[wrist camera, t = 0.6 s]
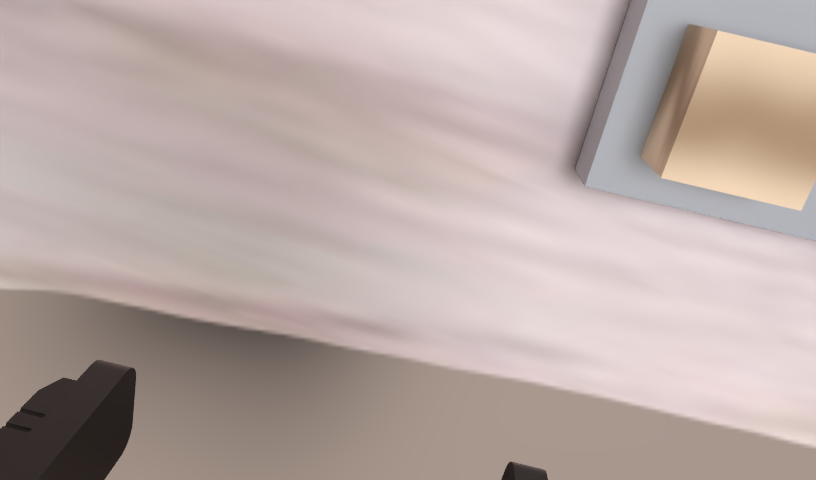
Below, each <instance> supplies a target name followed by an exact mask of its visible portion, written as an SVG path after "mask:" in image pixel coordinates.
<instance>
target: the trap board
mask: <svg viewBox="0 0 816 480" xmlns="http://www.w3.org/2000/svg"><path fill="white" fill-rule="evenodd" d="M689 24H692V25H697V26H701V27H705V28H710V29H714V30H718V31H723V32H727V33H731V34H735V35H739V36H744V37H748V38H752V39H756V40H761V41H765V42H769V43H773V44H777V45H782V46H786V47H790V48H794V49H798V50H803V51H807V52H811V53H815V54H816V0H631V1H630V4H629V7H628V10H627V13H626V16H625V19H624V22H623V25H622V28H621V31H620V34H619V38H618V41H617V44H616V47H615V50H614V53H613V56H612V59H611V62H610V65H609V68H608V71H607V74H606V77H605V80H604V83H603V86H602V89H601V92H600V95H599V98H598V101H597V104H596V107H595V110H594V113H593V116H592V119H591V122H590V125H589V128H588V131H587V134H586V137H585V140H584V143H583V146H582V149H581V152H580V156H579V159H578V162H577V165H576V168H575V170H576V172H577V173H578V175H579V177H580V179H581V181H582V182H583V184H584V186H585V187H589V188H594V189H598V190H602V191H606V192H611V193H615V194H619V195H623V196H628V197H632V198H636V199H640V200H645V201H649V202H653V203H657V204H662V205H666V206H670V207H674V208H679V209H683V210H687V211H691V212H696V213H700V214H704V215H708V216H713V217H717V218H721V219H725V220H730V221H734V222H738V223H742V224H747V225H751V226H755V227H760V228H764V229H768V230H772V231H777V232H781V233H785V234H789V235H794V236H798V237H802V238H806V239H811V240H815V241H816V181H815V183H814V185H813V187H812V189H811V191H810V194H809V196H808V198H807V200H806V202H805V204H804V206H803V208H802V210H801V211H799V210H795V209H791V208H786V207H782V206H778V205H774V204H769V203H765V202H761V201H757V200H752V199H748V198H744V197H740V196H735V195H731V194H727V193H723V192H718V191H714V190H710V189H706V188H701V187H697V186H693V185H689V184H684V183H680V182H676V181H672V180H667V179H663V178H660V176H659V175H658V174H657V173H656V172H655V171H654V170H653V169H652V168H651V167H650V166H649V165H648V164H647V163H646V162H645V161H644V160H643V159H642V158H641V153H642V150H643V147H644V145H645V142H646V139H647V137H648V134H649V131H650V128H651V126H652V123H653V120H654V118H655V115H656V112H657V109H658V107H659V104H660V101H661V98H662V96H663V93H664V90H665V88H666V85H667V82H668V79H669V77H670V74H671V71H672V69H673V66H674V63H675V60H676V58H677V55H678V52H679V50H680V47H681V44H682V41H683V39H684V36H685V33H686V31H687V28H688V25H689Z"/></svg>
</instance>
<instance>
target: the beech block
mask: <svg viewBox="0 0 816 480" xmlns="http://www.w3.org/2000/svg"><path fill="white" fill-rule="evenodd" d="M641 158H642V159H643V160H644V161H645V162H646V163H647V164H648V165H649V166H650V167H651V168H652V169H653V170H654V171H655V172H656V173H657V174H658V175H659V176H660V178H663V179H667V180H672V181H676V182H680V183H684V184H689V185H693V186H697V187H701V188H706V189H710V190H714V191H718V192H723V193H727V194H731V195H735V196H740V197H744V198H748V199H752V200H757V201H761V202H765V203H769V204H774V205H778V206H782V207H786V208H791V209H795V210H799V211H801V210H802V208H803V206H804V204H805V202H806V200H807V198H808V196H809V194H810V191H811V189H812V187H813V185H814V183H815V181H816V54H815V53H811V52H807V51H803V50H798V49H794V48H790V47H786V46H782V45H777V44H773V43H769V42H765V41H761V40H756V39H752V38H748V37H744V36H739V35H735V34H731V33H727V32H723V31H718V30H714V29H710V28H705V27H701V26H697V25H692V24H689V25H688V28H687V31H686V33H685V36H684V39H683V41H682V44H681V47H680V50H679V52H678V55H677V58H676V60H675V63H674V66H673V69H672V71H671V74H670V77H669V79H668V82H667V85H666V88H665V90H664V93H663V96H662V98H661V101H660V104H659V107H658V109H657V112H656V115H655V118H654V120H653V123H652V126H651V128H650V131H649V134H648V137H647V139H646V142H645V145H644V147H643V150H642V153H641Z"/></svg>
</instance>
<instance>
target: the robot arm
mask: <svg viewBox="0 0 816 480" xmlns="http://www.w3.org/2000/svg"><path fill="white" fill-rule="evenodd" d="M135 382H136V371H135V369H134V368H131V367H126V366H123V365H119V364H114V363H110V362H106V361H102V360H96V361H95V362H94V363H93V364H92V365H91V366H90V367H89V368H88V369H87V370H86V371H85V372H84V373H83V374H82V375H81V376H80V378H79V379H78V380H77V381H75V380H71V379H67V378H62V379H60V380H58V381H56V382H54V383H52V384H50V385H48V386H46V387H44V388H42V389H40V390H38V391H37V392H36V393H35V394H34V395H33V396H32V397H31V399H30V400H28V402H26V403H25V404H24V405H23V406H22V407H21V410H20V412H17V413H16V414H15V415H14V416H13V417H12V418H11V419H10V420H9V421H8V422H7V423H6V426H5V427H4V426H3V427H2V428H1V429H0V480H104V479H105V478H106V477H107V475H108V474H109V472H110V471H111V469H112V468H113V466H114V465H115V464H116V462H117V461H118V459H119V458H120V456H121V455H122V453H123V451H124V449H125V447H126V445H127V442H128V440H129V437H130V433H131V430H132V422H133V410H134V396H135ZM502 480H548V478H547V473H546V471H545V470H543V469H539V468H535V467H531V466H527V465H523V464H519V463H515V462H509V463H508V465H507V467H506V469H505V472H504V475H503V477H502Z"/></svg>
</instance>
